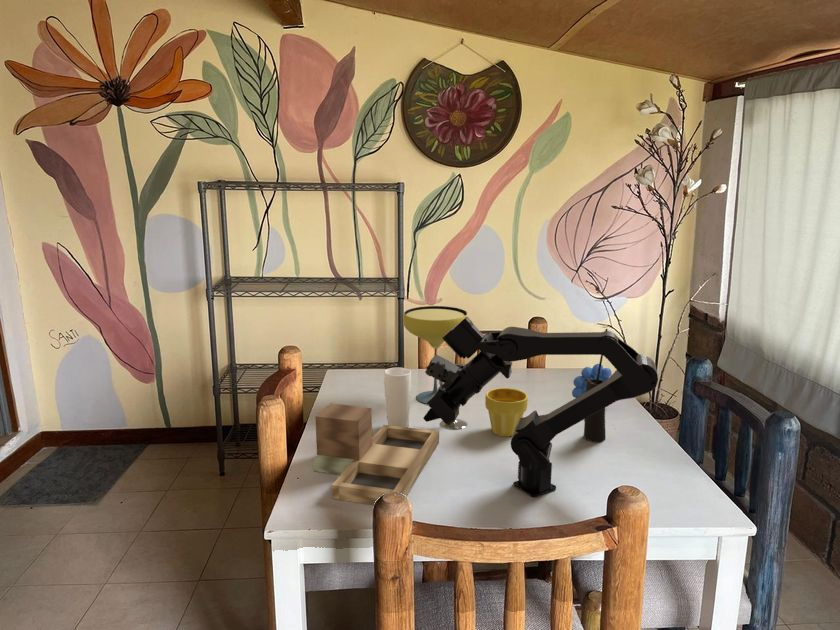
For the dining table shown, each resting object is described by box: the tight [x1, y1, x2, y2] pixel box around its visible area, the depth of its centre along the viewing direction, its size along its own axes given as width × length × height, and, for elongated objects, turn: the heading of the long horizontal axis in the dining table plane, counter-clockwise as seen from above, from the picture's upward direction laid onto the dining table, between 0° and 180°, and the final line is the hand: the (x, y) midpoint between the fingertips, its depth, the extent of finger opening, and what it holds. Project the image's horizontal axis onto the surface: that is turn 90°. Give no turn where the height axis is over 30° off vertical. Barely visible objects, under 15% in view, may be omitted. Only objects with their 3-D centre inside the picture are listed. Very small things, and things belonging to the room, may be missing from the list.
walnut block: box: [314, 403, 373, 460], centre depth 143 cm, size 10×8×9 cm
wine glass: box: [438, 363, 468, 431], centre depth 164 cm, size 8×8×15 cm
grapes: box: [571, 363, 612, 399], centre depth 178 cm, size 12×7×12 cm, turn 97°
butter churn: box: [583, 328, 609, 443], centre depth 155 cm, size 9×10×28 cm
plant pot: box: [484, 387, 529, 438], centre depth 160 cm, size 10×10×10 cm
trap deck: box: [313, 424, 440, 506], centre depth 143 cm, size 23×32×3 cm
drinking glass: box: [383, 367, 412, 428], centre depth 162 cm, size 7×7×15 cm
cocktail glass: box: [402, 305, 469, 405], centre depth 181 cm, size 18×18×25 cm
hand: (425, 419), depth 137 cm, fingers closed
